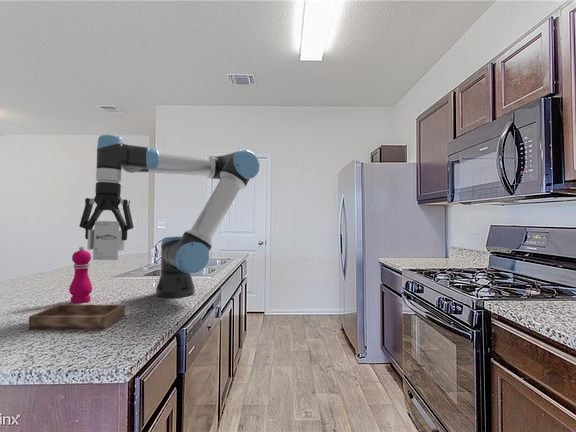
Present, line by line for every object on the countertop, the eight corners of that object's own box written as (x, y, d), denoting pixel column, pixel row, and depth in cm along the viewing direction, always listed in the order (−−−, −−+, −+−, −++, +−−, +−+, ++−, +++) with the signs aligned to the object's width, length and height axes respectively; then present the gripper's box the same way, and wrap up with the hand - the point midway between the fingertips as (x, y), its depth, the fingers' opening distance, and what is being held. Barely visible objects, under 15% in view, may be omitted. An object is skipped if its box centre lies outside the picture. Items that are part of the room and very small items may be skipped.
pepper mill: (64, 302, 129) (65, 246, 129) (82, 298, 135) (83, 245, 136) (78, 304, 126) (80, 247, 126) (96, 300, 133) (97, 246, 133)
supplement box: (92, 260, 115) (93, 221, 115) (93, 258, 122) (94, 220, 122) (118, 260, 118) (119, 221, 119) (117, 257, 125) (119, 221, 125)
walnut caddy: (124, 316, 113) (124, 304, 113) (104, 329, 99) (104, 317, 99) (58, 315, 112) (58, 304, 112) (28, 329, 98) (28, 316, 98)
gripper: (145, 184, 125) (143, 250, 124) (81, 182, 124) (78, 248, 124) (137, 182, 117) (134, 251, 117) (68, 180, 116) (65, 249, 116)
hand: (105, 249), depth 120 cm, fingers closed on supplement box, 9 cm apart
